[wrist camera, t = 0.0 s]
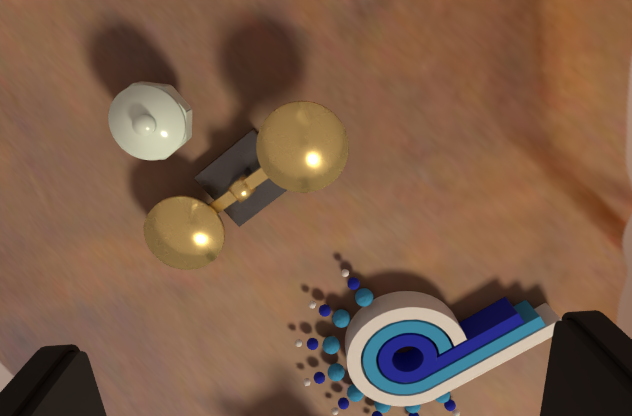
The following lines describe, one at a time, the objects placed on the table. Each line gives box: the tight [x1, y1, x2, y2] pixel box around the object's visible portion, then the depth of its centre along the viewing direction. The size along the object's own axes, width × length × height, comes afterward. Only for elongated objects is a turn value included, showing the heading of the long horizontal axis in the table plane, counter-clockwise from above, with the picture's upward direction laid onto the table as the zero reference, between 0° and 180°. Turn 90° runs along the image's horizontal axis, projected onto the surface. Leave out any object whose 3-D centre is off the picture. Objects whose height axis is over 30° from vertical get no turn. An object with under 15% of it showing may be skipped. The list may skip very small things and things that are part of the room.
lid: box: [108, 81, 192, 160], centre depth 39 cm, size 7×7×4 cm
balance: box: [144, 101, 349, 270], centre depth 42 cm, size 8×23×7 cm, turn 128°
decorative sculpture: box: [295, 269, 561, 416], centre depth 52 cm, size 27×4×30 cm
